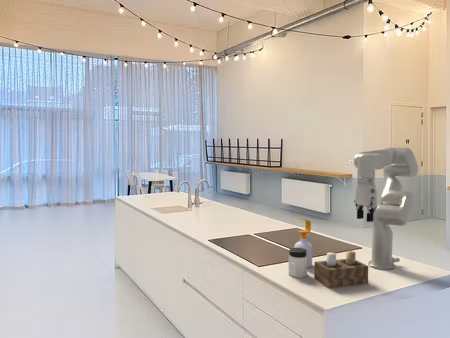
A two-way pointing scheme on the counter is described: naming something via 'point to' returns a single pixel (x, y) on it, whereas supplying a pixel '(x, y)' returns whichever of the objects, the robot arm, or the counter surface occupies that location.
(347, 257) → the oak peg
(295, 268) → the jar
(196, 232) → the counter surface
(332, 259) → the white peg
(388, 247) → the robot arm
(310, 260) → the soap bottle
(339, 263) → the walnut block
